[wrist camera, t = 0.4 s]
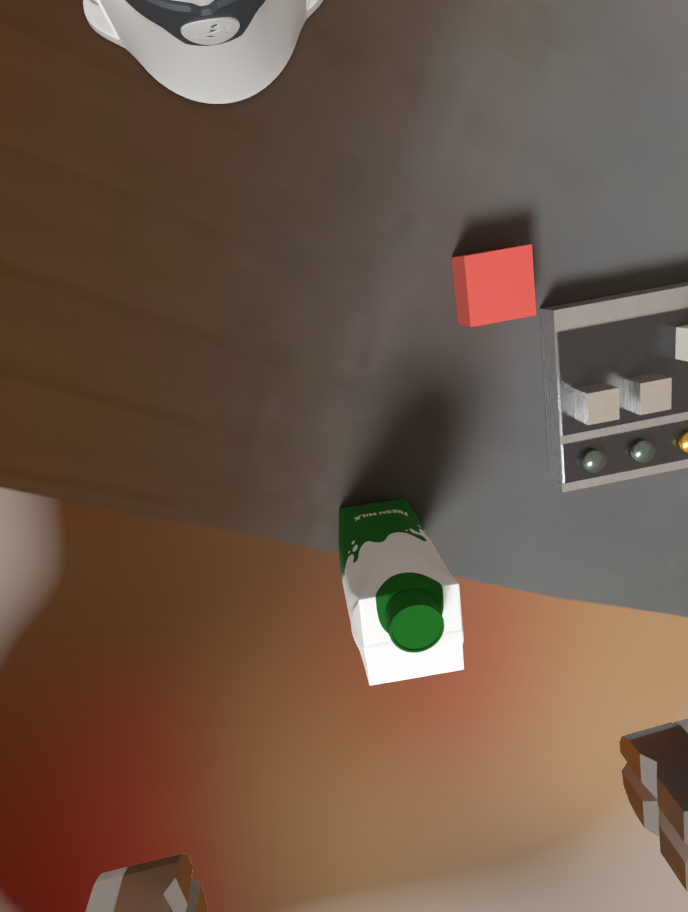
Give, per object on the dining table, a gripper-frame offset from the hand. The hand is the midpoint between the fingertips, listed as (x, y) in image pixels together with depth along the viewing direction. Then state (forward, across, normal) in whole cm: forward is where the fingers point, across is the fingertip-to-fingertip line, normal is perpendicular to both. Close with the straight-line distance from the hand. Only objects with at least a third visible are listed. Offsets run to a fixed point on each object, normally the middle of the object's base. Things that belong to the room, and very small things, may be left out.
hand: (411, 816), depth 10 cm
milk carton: (+46, -3, +18) cm, 50 cm away
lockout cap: (+46, -18, -4) cm, 50 cm away
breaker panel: (+46, -31, +8) cm, 56 cm away
